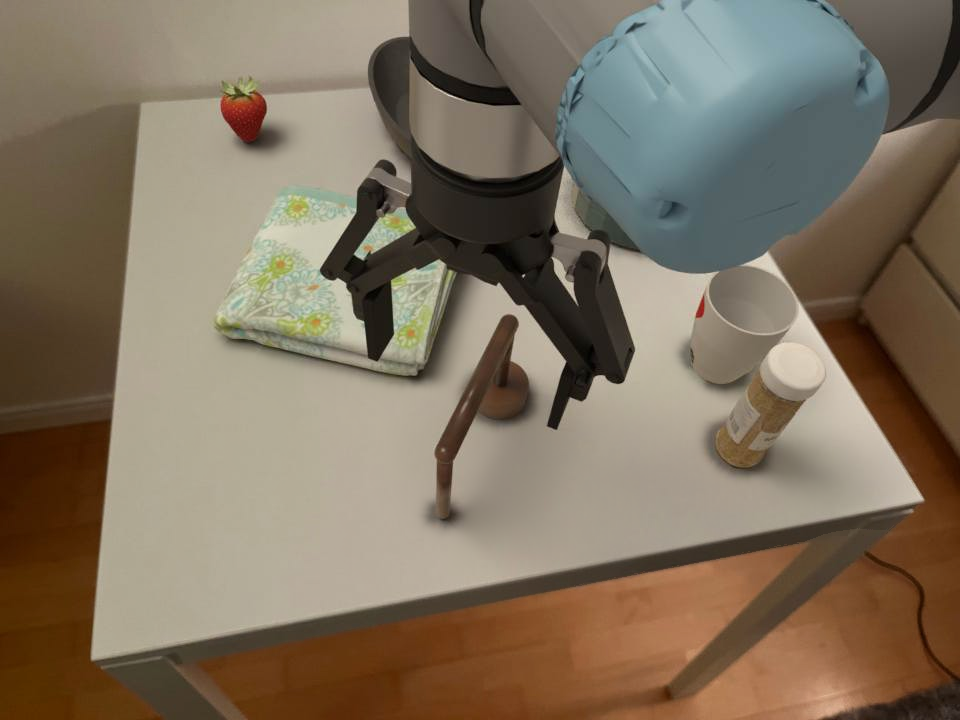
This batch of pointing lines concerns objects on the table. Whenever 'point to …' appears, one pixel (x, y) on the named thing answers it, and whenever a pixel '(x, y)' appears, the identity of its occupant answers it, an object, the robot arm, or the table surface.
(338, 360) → the towel
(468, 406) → the bent wooden rod
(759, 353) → the cup
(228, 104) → the fruit
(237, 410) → the table surface
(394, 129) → the bowl
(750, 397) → the sprinkles bottle
